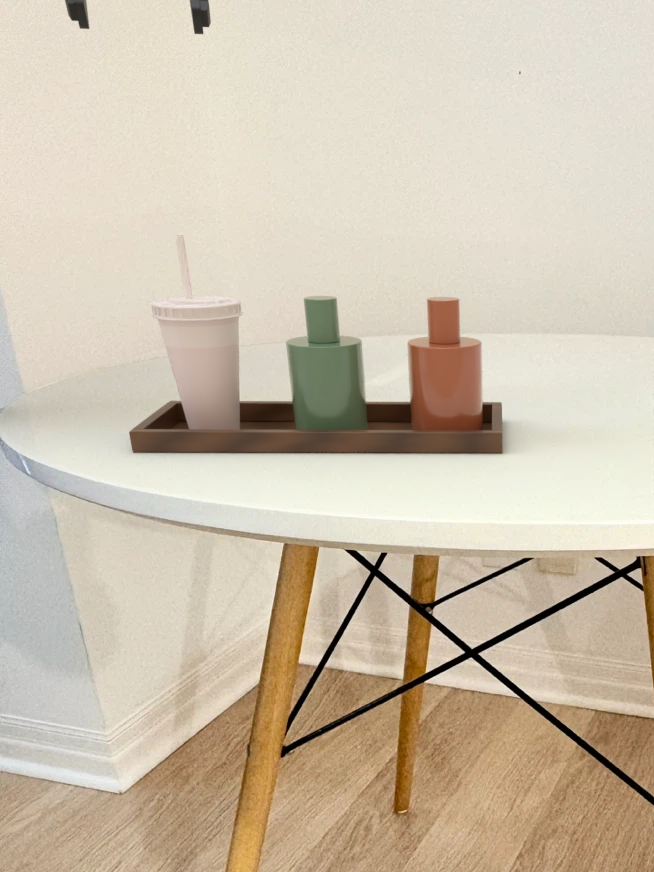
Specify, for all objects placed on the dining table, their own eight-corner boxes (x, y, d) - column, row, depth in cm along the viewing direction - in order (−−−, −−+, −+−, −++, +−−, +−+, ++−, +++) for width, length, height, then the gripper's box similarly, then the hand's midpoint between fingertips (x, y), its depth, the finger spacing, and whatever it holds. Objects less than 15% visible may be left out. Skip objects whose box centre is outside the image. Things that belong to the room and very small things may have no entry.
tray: (133, 460, 74) (128, 431, 73) (174, 426, 83) (170, 400, 82) (502, 461, 75) (502, 432, 74) (502, 427, 84) (501, 401, 83)
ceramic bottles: (289, 444, 76) (274, 302, 71) (302, 426, 81) (288, 292, 76) (482, 444, 76) (480, 303, 72) (483, 427, 81) (481, 294, 76)
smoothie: (198, 422, 81) (168, 231, 75) (271, 427, 80) (248, 234, 73) (156, 441, 76) (120, 237, 69) (234, 446, 75) (205, 239, 68)
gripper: (13, -194, 77) (29, -32, 73) (207, -175, 80) (232, -20, 77) (38, -92, 84) (54, 61, 80) (215, -79, 87) (238, 68, 84)
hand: (141, 21), depth 78 cm, fingers open, 8 cm apart
